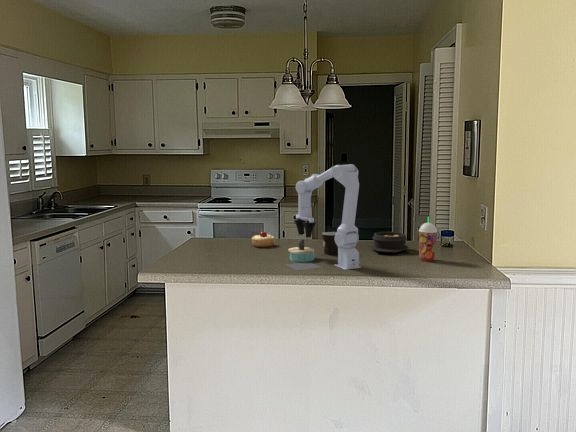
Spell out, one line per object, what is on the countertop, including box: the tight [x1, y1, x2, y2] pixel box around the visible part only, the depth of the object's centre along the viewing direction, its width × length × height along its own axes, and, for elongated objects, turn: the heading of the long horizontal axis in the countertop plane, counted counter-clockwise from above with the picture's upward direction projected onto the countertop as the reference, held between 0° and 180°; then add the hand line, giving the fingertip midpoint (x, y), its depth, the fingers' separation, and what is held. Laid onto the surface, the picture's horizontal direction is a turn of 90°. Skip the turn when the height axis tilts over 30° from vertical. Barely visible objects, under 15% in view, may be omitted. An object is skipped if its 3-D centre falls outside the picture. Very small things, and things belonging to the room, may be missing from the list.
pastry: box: [251, 228, 276, 248], centre depth 285 cm, size 12×12×9 cm
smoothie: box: [417, 216, 438, 263], centre depth 248 cm, size 8×8×20 cm
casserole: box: [370, 231, 410, 254], centre depth 271 cm, size 25×19×8 cm
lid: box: [288, 239, 315, 254], centre depth 251 cm, size 12×12×5 cm
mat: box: [285, 261, 323, 271], centre depth 238 cm, size 12×12×1 cm
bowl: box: [289, 251, 315, 263], centre depth 252 cm, size 11×11×4 cm
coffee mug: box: [321, 231, 338, 256], centre depth 265 cm, size 12×9×10 cm
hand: (304, 235), depth 255 cm, fingers open, 7 cm apart
